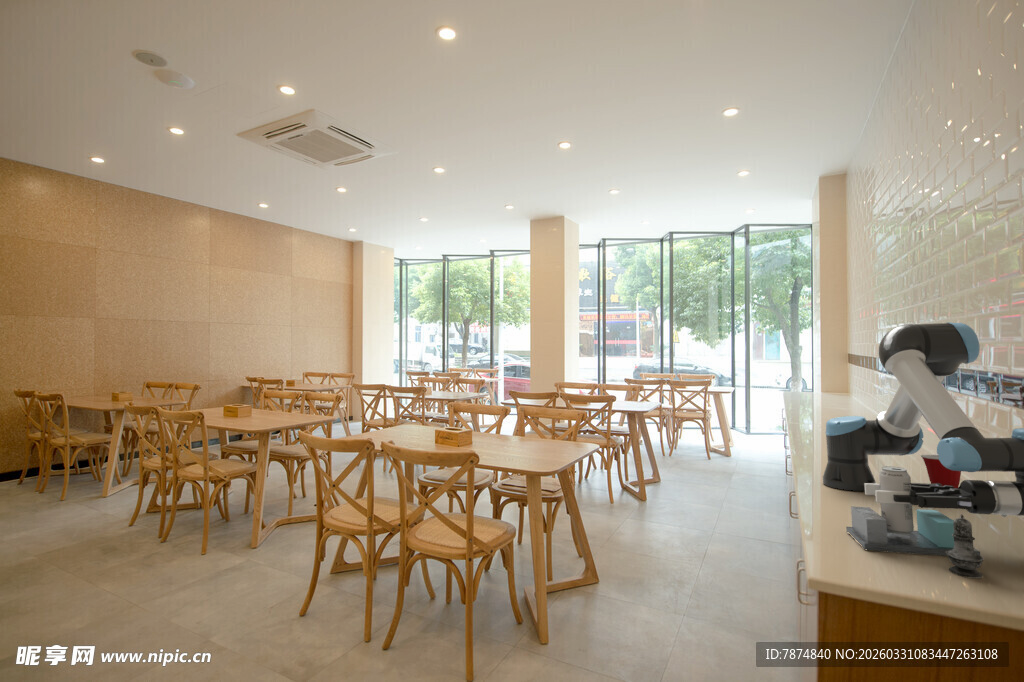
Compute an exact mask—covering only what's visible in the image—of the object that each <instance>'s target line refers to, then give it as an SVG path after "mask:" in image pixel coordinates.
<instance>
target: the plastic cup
mask: <svg viewBox="0 0 1024 682" xmlns="http://www.w3.org/2000/svg"><path fill="white" fill-rule="evenodd" d="M920 457H921V458H922V460H923V462H924V465H925V468H926V472H927V476H928V479H929V482H930V484H935V483H940V484H942V486H944V485H949V486H954V488H958V487H959V486H960V484H961V482H960V480H961V474H962V471H953V470H949V469H947V468H946V467H945V466H943V465H942V464H941V462H940V460H939V455H938V454H921V455H920Z"/></svg>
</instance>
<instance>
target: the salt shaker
mask: <svg viewBox="0 0 1024 682" xmlns="http://www.w3.org/2000/svg"><path fill="white" fill-rule="evenodd" d="M953 520H954V521H953V525H954V534H952V536H953V537H954V548H953V550H948V551H946V554H947V555H948V556H947V558H948V560H949V562H950V563H951V564H952V565H954V566H950V567H949V568H948V571H949V572H950V573H952V574H954V575H956V576H960V577H963V578H968V579H983V577H984V575H983V573H981V572H980V571H978V569H979V568H980V567H981V566H982V564H983V562H984V561H985V559H984V557H983V556H982V555H981V554H980V555H978V554H976V553H975V551H974V548H975V547H974V541H975V540H976V538H975V537H974V536H973V526H972V523H971V521H970V520H968V519H966V518H965V516H964V515H963V514H962V513H961V514H960V515H959V518H955V519H953Z"/></svg>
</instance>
